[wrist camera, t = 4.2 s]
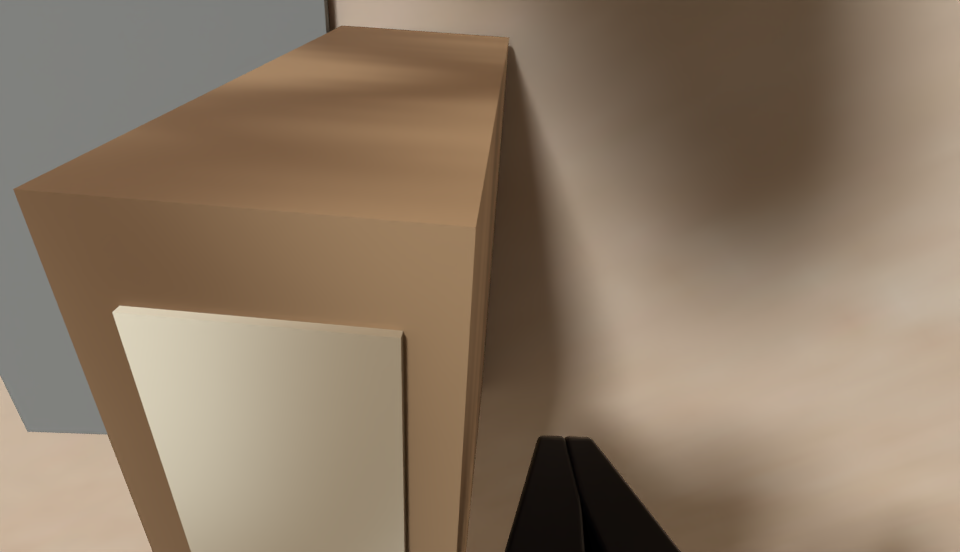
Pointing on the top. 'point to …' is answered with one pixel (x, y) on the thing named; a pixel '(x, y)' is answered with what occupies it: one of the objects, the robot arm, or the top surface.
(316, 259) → the walnut slab
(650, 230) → the top surface
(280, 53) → the grey rubber mat
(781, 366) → the top surface
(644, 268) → the top surface
